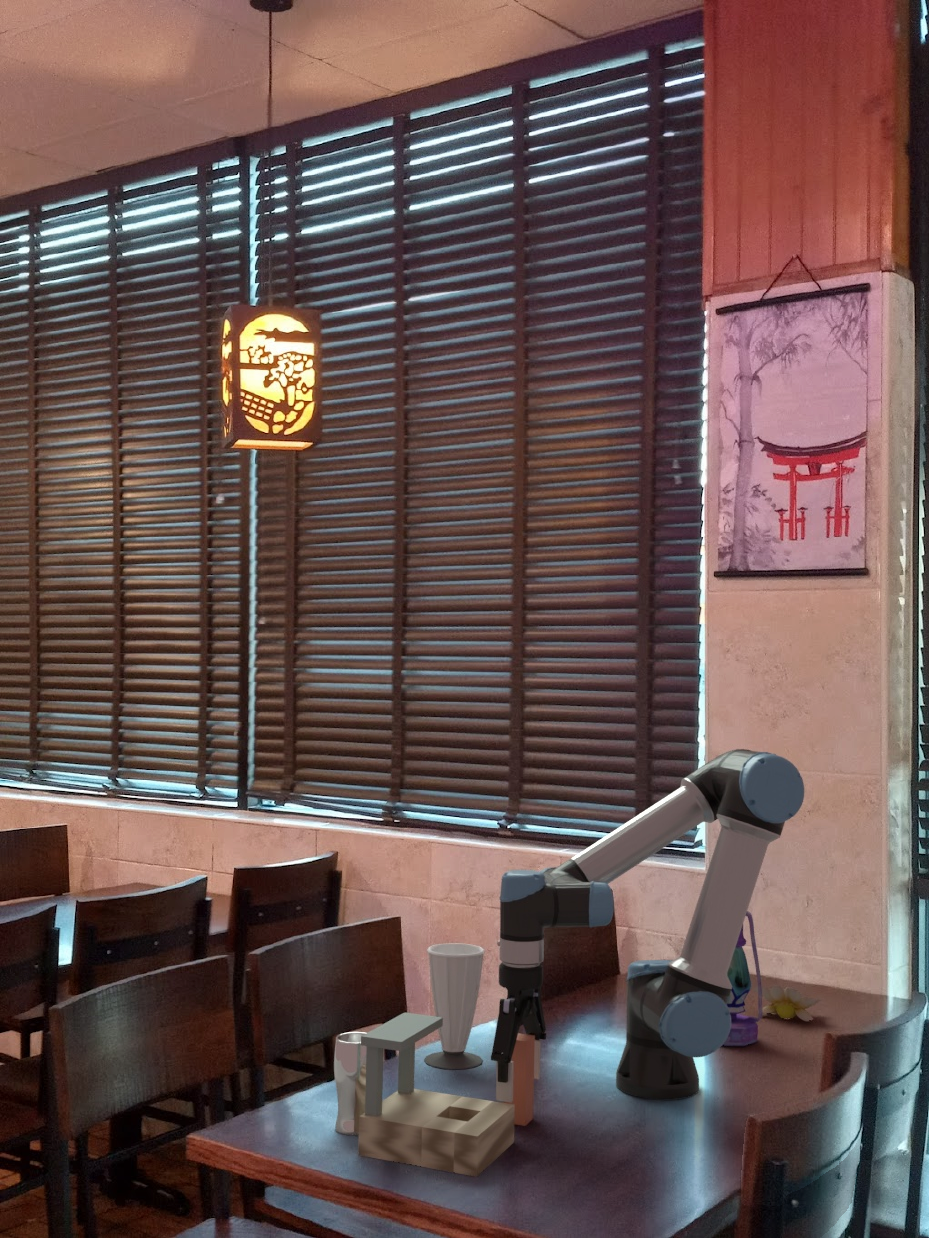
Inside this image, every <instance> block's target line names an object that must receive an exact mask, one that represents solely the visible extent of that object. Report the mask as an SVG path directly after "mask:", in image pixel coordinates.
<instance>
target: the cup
mask: <svg viewBox="0 0 929 1238" xmlns="http://www.w3.org/2000/svg"><path fill="white" fill-rule="evenodd" d="M426 952H427V955H428V964H429V974H430V975H429V976H430V977H429V978H430V986H431V993H432V999H433V1000H432V1002H433V1008H434V1009H433V1010H434V1016H435V1017H443V1026H442V1027H440V1028H438V1029H437V1032H438V1036H439V1041H440V1043H441V1050H442V1051H438V1052H432V1053H430V1054H428V1055H426V1056H425V1058H424V1059H423V1061H424V1062H425V1064H426V1065H428V1066H430V1067H432V1068H437V1069H440V1070H449V1071H450V1070H452V1071H457V1070H459V1071H460V1070H468V1069H474V1068H477V1067H479V1066H481V1065H482V1064H483V1062H484V1060H483V1058H482V1057H481V1056H480V1055H477V1054H475V1053H472V1052H466V1048H467V1045H468V1042H469V1039H470V1035H471V1032H472V1027H473V1022H474V1020H475V1019H474V1018H475V1014H476V1009H477V1003H478V998H479V991H480V987H481V980H482V971H483V963H484V961H483V960H484V954H485V952H486V950H485V949H484V948H483V947H481V946H479V945H475V944H469V943H459V942H457V943H456V942H452V943H451V942H450V943H449V942H448V943H446V942H445V943H437V944H433V945H430V946H428V948H427V949H426Z"/></svg>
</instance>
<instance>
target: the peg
mask: <svg viewBox="0 0 929 1238" xmlns="http://www.w3.org/2000/svg"><path fill="white" fill-rule="evenodd" d="M534 1048H535V1035H527V1034H526V1033H519V1032H518V1035H517V1039H516V1043H515V1047H514V1051H513V1055H512V1059H511V1061H514V1065H513V1101H512V1102H504V1101H502V1103H507V1104H514V1105H515V1115H514V1125H517V1126H523V1127H525V1126H527V1125H528V1124H529V1123H530V1122H531V1121H533V1119H534V1093H535V1092H534V1091H535V1083H534V1082H535V1081H534V1080H535V1079H534Z"/></svg>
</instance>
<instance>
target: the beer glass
mask: <svg viewBox="0 0 929 1238" xmlns="http://www.w3.org/2000/svg"><path fill="white" fill-rule="evenodd" d="M366 1033H367V1032H364V1031H362V1032H361V1031H349V1032H344V1033H340V1034H337V1035H336V1036H335V1046H334V1047H335V1048H334V1058H333V1060H334V1061H333V1072H334V1081H335V1089H336V1095H337V1115H336V1122H335V1128H334V1129H335V1131H336V1132H337V1133H338V1134H341V1135H344V1136H359V1116H360V1115H362V1114H363V1113H365V1092H366V1050H367V1046H362V1045H361V1036H362V1035H364V1034H366Z"/></svg>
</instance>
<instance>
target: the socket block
mask: <svg viewBox="0 0 929 1238" xmlns="http://www.w3.org/2000/svg"><path fill="white" fill-rule="evenodd" d="M514 1115H515V1105H514V1104H507V1103H503V1102H502V1101H496V1100H495V1101H494V1100H487V1099H481V1098H474V1097H468V1096H463V1095H462V1096H461V1095H454V1094H449V1093H443V1092H436V1091H431V1090H430V1091H429V1090H424V1089H423V1090H422V1089H419V1088H414V1091H413V1092H412V1093H410V1094H403V1093H398V1090H396V1091H394V1092H393V1093H392V1094H390V1095H389V1096H388V1097H386V1098H385V1099H382V1113H381V1114H380V1115H378V1116H377V1117H375V1116H369V1115H365V1113H363V1114H362V1115H360V1116H359V1135H358V1147H357V1148H358V1149H357V1150H358V1151H357V1152H358V1153H357V1155H358V1156H360V1157H361V1156H362V1157H366V1158H372V1159H377V1160H378V1159H379V1160H383V1161H388V1162H393V1161H394V1162H393V1163H398V1162H400V1164H404V1163H406V1165H409V1164H412V1165H411V1166H415V1165H417V1166H416V1167H420V1166H421V1167H422V1168H426V1169H433V1170H436V1171H442V1170H443V1172H450V1173H453V1172H455V1174H458V1175H459V1174H460V1175H464V1176H470V1175H471V1176H470V1177H475V1178H477V1177H478V1176H479V1175H480V1174H482V1173H483V1172H484V1171H486V1169H487V1168H488V1167H489V1166H490V1165H491V1164H493V1162H494V1161H495V1160H497V1159H498V1157H500V1156H501V1155H502V1154H503V1153H504V1152H506V1150H507V1149H508V1148H510V1147H511V1146H512V1145H513V1144H514V1143H515V1124H514ZM483 1170H484V1171H483Z"/></svg>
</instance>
